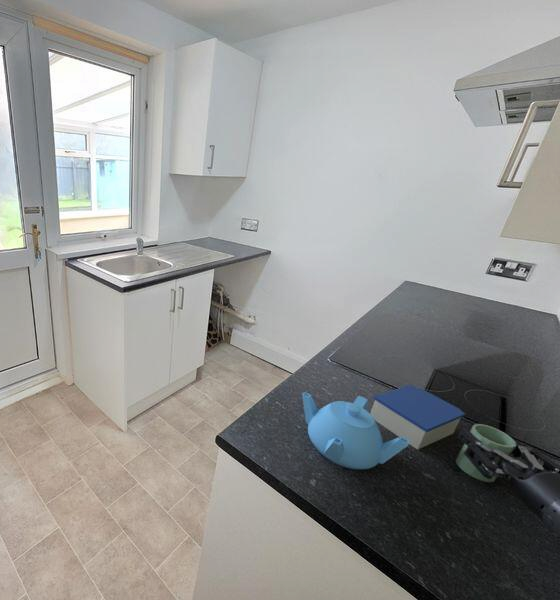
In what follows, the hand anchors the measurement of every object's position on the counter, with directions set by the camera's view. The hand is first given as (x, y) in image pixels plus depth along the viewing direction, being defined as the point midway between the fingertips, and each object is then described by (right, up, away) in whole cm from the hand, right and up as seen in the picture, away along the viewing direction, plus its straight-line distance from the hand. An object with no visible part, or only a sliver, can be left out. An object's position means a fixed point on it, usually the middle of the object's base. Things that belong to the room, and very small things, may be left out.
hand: (478, 433), depth 64 cm
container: (-5, -3, +12) cm, 13 cm away
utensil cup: (-1, -7, 0) cm, 7 cm away
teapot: (-26, -5, +4) cm, 27 cm away
